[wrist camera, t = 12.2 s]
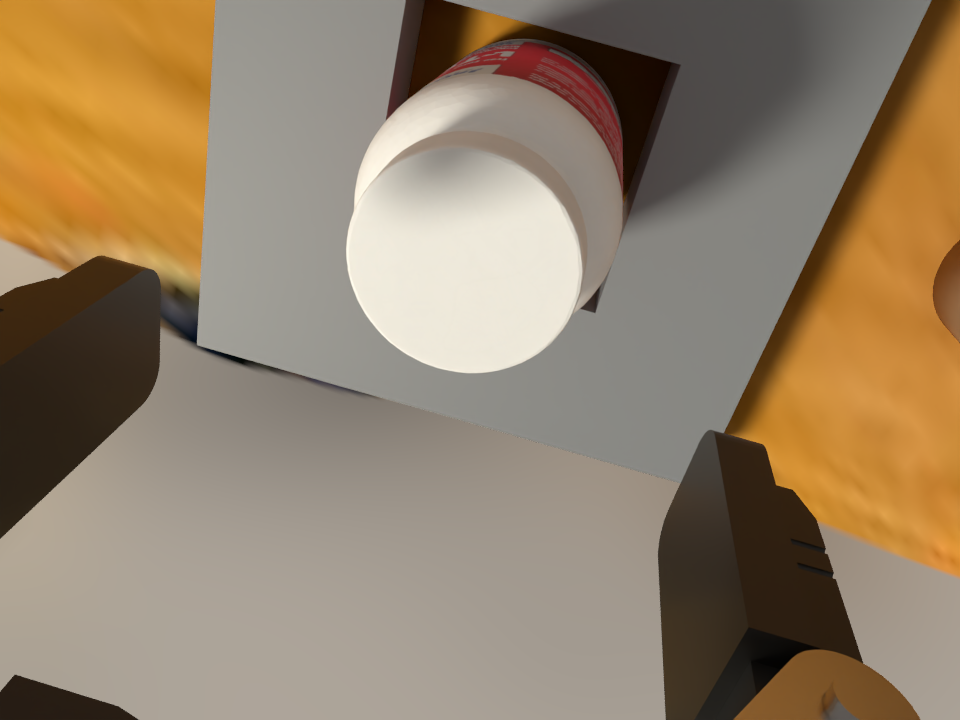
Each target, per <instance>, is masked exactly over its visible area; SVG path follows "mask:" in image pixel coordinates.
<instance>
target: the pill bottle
mask: <svg viewBox="0 0 960 720" xmlns="http://www.w3.org/2000/svg"><path fill="white" fill-rule="evenodd" d="M622 223H623V136H622V128H621V122H620V118H619V114H618V110H617V107H616V105H615V102H614V99H613V97H612V95H611V93H610V91H609V89H608V87H607V86H606V84H605V83H604V81H603V80H602V79H601V77H600V76H599V75H598V73H597V72H596V71H595V70H594V69H593V68H592V67H591V66H590V65H589V64H588V63H587V62H585V61H584V60H583V59H582V58H580V57H579V56H577V55H576V54H574V53H573V52H571V51H569V50H567V49H565V48H563V47H561V46H558V45H556V44H553V43H550V42H546V41H542V40H536V39H511V40H504V41H500V42H496V43H493V44H490V45H487V46H485V47H482V48H480V49H478V50H476V51H474V52H472V53H470V54H469V55H467V56H466V57H464V58H463V59H461V60H460V61H459V62H457V63H456V64H455V65H453V66H452V67H450V68H449V69H448V70H446V71H445V72H444V73H442V74H441V75H440V76H438V77H437V78H436V79H434V80H433V81H432V82H430V83H429V84H427V85H426V86H425V87H423V88H422V89H421V90H420V91H418V92H417V93H416V94H414V95H413V96H412V97H410V98H409V99H408V100H407V101H406V102H404V103H403V104H402V105H401V106H400V107H398V108H397V109H396V110H395V112H394V113H393V114H392V115H391V116H390V117H389V118H388V119H387V120H386V121H385V123H384V124H383V125H382V126H381V128H380V129H379V131H378V132H377V134H376V135H375V136H374V138H373V140H372V142H371V143H370V145H369V147H368V149H367V151H366V154H365V156H364V158H363V161H362V163H361V166H360V169H359V173H358V177H357V182H356V188H355V197H354V212H353V215H352V218H351V221H350V225H349V229H348V235H347V245H346V259H347V265H348V273H349V277H350V281H351V285H352V287H353V290H354V293H355V295H356V298H357V300H358V302H359V304H360V305H361V307H362V309H363V311H364V313H365V314H366V316H367V317H368V319H369V320H370V321H371V323H372V324H373V325H374V326H375V328H376V329H377V330H378V331H379V332H380V333H381V334H382V335H383V336H384V337H385V338H386V339H387V340H388V341H389V342H390V343H391V344H393V345H394V346H395V347H397V348H398V349H399V350H401V351H402V352H404V353H405V354H407V355H409V356H411V357H413V358H414V359H416V360H418V361H420V362H422V363H425V364H427V365H430V366H433V367H436V368H439V369H443V370H448V371H454V372H461V373H486V372H493V371H499V370H502V369H506V368H509V367H512V366H515V365H518V364H520V363H523V362H524V361H526V360H528V359H530V358H532V357H534V356H535V355H537V354H538V353H540V352H541V351H542V350H544V349H545V348H546V347H547V346H549V345H550V344H551V343H552V342H553V341H554V340H555V339H556V338H557V336H558V335H559V334H560V333H561V332H562V331H563V329H564V328H565V326H566V325H567V323H568V322H569V320H570V318H571V316H572V315H573V314H574V313H575V312H577V311H578V310H579V309H580V308H581V307H582V306H584V305H585V304H586V302H587V301H588V300H589V299H590V298H591V297H592V296H593V294H594V293H595V292H596V290H597V289H598V288H599V286H600V285H601V284H602V282H603V281H604V279H605V277H606V275H607V273H608V271H609V269H610V267H611V265H612V263H613V260H614V257H615V254H616V251H617V248H618V244H619V240H620V234H621V230H622Z"/></svg>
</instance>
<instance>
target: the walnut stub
mask: <svg viewBox="0 0 960 720" xmlns="http://www.w3.org/2000/svg"><path fill="white" fill-rule="evenodd" d="M933 301H934V306H935V310H936V313H937V314H938V316H939V318H940V320H941V321H942V323H943V324H944V325H945V327H946V328H947V329H948V330H949V331H950V332H951V333H952V335H953V336H954V337H955V338H956V339H957V340H958V341H959V343H960V240H959V241H958V242H957V243H956V244H955V245H954V246H953V247H952V249H951V250H950V251H949V252H948V253H947V255H946V256H945V258H944V260H943V261H942V263H941V265H940V267H939V269H938V271H937V274H936V277H935V280H934V286H933Z"/></svg>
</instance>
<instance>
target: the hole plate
mask: <svg viewBox="0 0 960 720" xmlns="http://www.w3.org/2000/svg"><path fill="white" fill-rule="evenodd" d="M445 1H449V2H452V3H456V4H460V5H463V6H467V7H471V8H474V9H478V10H482V11H485V12H489V13H493V14H496V15H500V16H504V17H507V18H511V19H515V20H518V21H522V22H526V23H529V24H533V25H537V26H540V27H544V28H548V29H551V30H555V31H559V32H562V33H566V34H570V35H573V36H577V37H581V38H584V39H588V40H592V41H595V42H599V43H603V44H606V45H610V46H614V47H617V48H621V49H625V50H628V51H632V52H636V53H639V54H643V55H647V56H650V57H654V58H658V59H661V60H665V61H669V62H672V63H671V66H670V69H669V72H668V75H667V78H666V81H665V83H664V86H663V89H662V92H661V95H660V98H659V101H658V104H657V107H656V110H655V113H654V116H653V119H652V122H651V125H650V128H649V131H648V134H647V137H646V140H645V143H644V146H643V149H642V151H641V154H640V157H639V160H638V163H637V166H636V169H635V172H634V175H633V178H632V181H631V184H630V187H629V190H628V193H627V196H626V199H625V202H624V205H623V223H622V230H621V234H620V240H619V244H618V248H617V251H616V254H615V257H614V260H613V263H612V265H611V267H610V269H609V271H608V273H607V275H606V277H605V279H604V281H603V282H602V284H601V285H600V286H599V288H598V289H597V290H596V292H595V293H594V294H593V296H592V297H591V298H590V299H589V300H588V301H587V302H586V304H585V305H584V306H582V307H581V308H580V309H579V310H578V311H577V312H575V313H574V314H573V315H572V316H571V318H570V320H569V322H568V323H567V325H566V326H565V328H564V329H563V331H562V332H561V333H560V334H559V335H558V336H557V338H556V339H555V340H554V341H553V342H552V343H551V344H550V345H549V346H547V347H546V348H545V349H544V350H542V351H541V352H540V353H538V354H537V355H535V356H534V357H532V358H530V359H528V360H526V361H524V362H523V363H520V364H518V365H515V366H512V367H509V368H506V369H502V370H499V371H493V372H486V373H461V372H454V371H448V370H443V369H439V368H436V367H433V366H430V365H427V364H425V363H422V362H420V361H418V360H416V359H414V358H413V357H411V356H409V355H407V354H405V353H404V352H402V351H401V350H399V349H398V348H397V347H395V346H394V345H393V344H391V343H390V342H389V341H388V340H387V339H386V338H385V337H384V336H383V335H382V334H381V333H380V332H379V331H378V330H377V329H376V328H375V326H374V325H373V324H372V323H371V321H370V320H369V319H368V317H367V316H366V314H365V313H364V311H363V309H362V307H361V305H360V304H359V302H358V300H357V298H356V295H355V293H354V290H353V287H352V285H351V281H350V277H349V273H348V265H347V259H346V245H347V235H348V229H349V225H350V221H351V218H352V215H353V212H354V197H355V188H356V182H357V177H358V173H359V169H360V166H361V163H362V161H363V158H364V156H365V154H366V151H367V149H368V147H369V145H370V143H371V142H372V140H373V138H374V136H375V135H376V134H377V132H378V131H379V129H380V128H381V126H382V125H383V124H384V123H385V121H386V120H387V119H388V118H389V117H390V116H391V115H392V114H393V113H394V112H395V110H396V109H397V108H398V107H400V106H401V105H402V104H403V103H404V102H406V101H407V99H408V93H409V88H410V82H411V76H412V71H413V65H414V60H415V54H416V48H417V43H418V37H419V32H420V26H421V21H422V15H423V9H424V4H425V0H216V4H215V23H214V41H213V59H212V78H211V96H210V114H209V133H208V151H207V170H206V188H205V206H204V225H203V243H202V261H201V280H200V298H199V317H198V335H197V345H199V346H202V347H206V348H209V349H213V350H216V351H220V352H223V353H227V354H230V355H234V356H237V357H241V358H244V359H248V360H251V361H255V362H258V363H262V364H265V365H269V366H272V367H276V368H279V369H283V370H286V371H290V372H293V373H296V374H300V375H303V376H307V377H310V378H314V379H317V380H321V381H324V382H328V383H331V384H335V385H338V386H342V387H345V388H349V389H352V390H356V391H359V392H363V393H366V394H370V395H373V396H377V397H380V398H384V399H387V400H391V401H394V402H398V403H401V404H405V405H409V406H412V407H415V408H419V409H422V410H426V411H429V412H433V413H436V414H440V415H443V416H447V417H451V418H454V419H457V420H461V421H464V422H468V423H471V424H475V425H478V426H482V427H485V428H489V429H493V430H496V431H499V432H503V433H506V434H510V435H513V436H517V437H520V438H524V439H528V440H531V441H534V442H538V443H541V444H545V445H548V446H552V447H555V448H559V449H562V450H566V451H569V452H573V453H576V454H579V455H583V456H587V457H590V458H594V459H597V460H600V461H604V462H608V463H611V464H615V465H618V466H621V467H625V468H629V469H632V470H635V471H639V472H642V473H646V474H649V475H653V476H656V477H660V478H664V479H667V480H671V481H674V482H678V483H681V481H682V479H683V477H684V475H685V473H686V470H687V468H688V466H689V464H690V462H691V459H692V457H693V455H694V453H695V451H696V448H697V446H698V444H699V442H700V440H701V438H702V437H703V435H704V434H705V433H706V432H707V431H708V430H714V431H717V432H721V433H724V432H725V429H726V427H727V425H728V423H729V421H730V419H731V417H732V415H733V413H734V411H735V409H736V407H737V404H738V402H739V400H740V398H741V396H742V394H743V392H744V390H745V388H746V386H747V384H748V382H749V379H750V377H751V375H752V373H753V371H754V369H755V367H756V365H757V363H758V361H759V359H760V357H761V355H762V352H763V350H764V348H765V346H766V344H767V342H768V340H769V338H770V336H771V334H772V332H773V330H774V327H775V325H776V323H777V321H778V319H779V317H780V315H781V313H782V311H783V309H784V307H785V305H786V302H787V300H788V298H789V296H790V294H791V292H792V290H793V288H794V286H795V284H796V282H797V280H798V277H799V275H800V273H801V271H802V269H803V267H804V265H805V263H806V261H807V259H808V257H809V255H810V252H811V250H812V248H813V246H814V244H815V242H816V240H817V238H818V236H819V234H820V232H821V230H822V227H823V225H824V223H825V221H826V219H827V217H828V215H829V213H830V211H831V209H832V207H833V205H834V203H835V200H836V198H837V196H838V194H839V192H840V190H841V188H842V186H843V184H844V182H845V180H846V178H847V175H848V173H849V171H850V169H851V167H852V165H853V163H854V161H855V159H856V157H857V155H858V153H859V150H860V148H861V146H862V144H863V142H864V140H865V138H866V136H867V134H868V132H869V130H870V128H871V125H872V123H873V121H874V119H875V117H876V115H877V113H878V111H879V109H880V107H881V105H882V103H883V100H884V98H885V96H886V94H887V92H888V90H889V88H890V86H891V84H892V82H893V80H894V78H895V75H896V73H897V71H898V69H899V67H900V65H901V63H902V61H903V59H904V57H905V55H906V53H907V51H908V48H909V46H910V44H911V42H912V40H913V38H914V36H915V34H916V32H917V30H918V28H919V26H920V23H921V21H922V19H923V17H924V15H925V13H926V11H927V9H928V7H929V5H930V3H931V1H932V0H445Z"/></svg>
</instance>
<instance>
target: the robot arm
mask: <svg viewBox="0 0 960 720" xmlns="http://www.w3.org/2000/svg"><path fill="white" fill-rule="evenodd" d="M160 301H161V286H160V280H159V277H158V275H157V273H156V272H155V271H154V270H152V269H148V268H145V267H141V266H138V265H134V264H131V263H127V262H124V261H120V260H117V259H113V258H109V257H106V256H97V257H95V258H93V259H91V260H89V261H87V262H86V263H84V264H82V265H81V266H79V267H77V268H75V269H74V270H72V271H70V272H69V273H67V274H65V275H63V276H62V277H60V278H52V279H48V280H44V281H40V282H36V283H32V284H28V285H25V286H21V287H17V288H14V289H13V290H11V291H9V292H7V293H5V294H4V295H2V296H0V538H1V537H2V536H4V535H5V534H6V533H7V532H8V531H9V530H10V529H11V528H12V527H13V526H14V525H15V524H16V523H17V522H18V521H19V520H21V519H22V518H23V516H25V515H26V514H27V513H28V512H29V511H30V510H31V509H32V508H33V507H34V506H35V505H36V504H37V503H38V502H40V501H41V500H42V499H43V498H44V497H45V496H46V495H47V494H48V493H49V492H50V491H51V490H52V489H53V488H54V487H56V486H57V484H59V483H60V482H61V481H62V480H63V479H64V478H65V477H66V476H67V475H68V474H69V473H70V472H71V471H73V470H74V469H75V468H76V467H77V466H78V465H79V464H80V463H81V462H82V461H83V460H84V459H85V458H86V457H87V456H88V455H90V454H91V453H92V452H93V451H94V450H95V449H96V448H97V447H98V446H99V445H100V444H101V443H102V442H103V441H104V440H105V439H106V438H108V437H109V436H110V435H111V434H112V433H113V432H114V431H115V430H116V429H117V428H118V427H119V426H120V425H121V424H122V423H123V422H125V421H126V420H127V419H128V418H129V417H130V416H131V415H132V414H133V413H134V412H135V411H136V410H137V409H138V408H139V407H140V406H141V405H142V404H143V403H144V402H145V401H146V400H147V398H148V397H149V395H150V393H151V391H152V389H153V387H154V385H155V382H156V379H157V375H158V371H159V363H160ZM825 549H826V548H825V545H824V542H823V539H822V536H821V533H820V529H819V526H818V523H817V520H816V519H815V517H814V516H813V515H812V513H811V512H810V511H809V510H808V508H807V507H806V506H805V505H804V503H803V502H802V501H801V500H800V498H799V497H798V496H797V495H796V493H795V492H794V491H793V490H791V489H787V488H784V487H780V486H777V485H776V484H775V480H774V476H773V473H772V469H771V465H770V462H769V458H768V454H767V451H766V448H765V446H764V445H762V444H760V443H756V442H753V441H749V440H746V439H742V438H738V437H735V436H731V435H728V434H724V433H721V432H717V431H714V430H708V431H707V432H706V433H705V434H704V435H703V437H702V438H701V440H700V442H699V444H698V446H697V448H696V451H695V453H694V455H693V457H692V459H691V462H690V464H689V466H688V468H687V470H686V473H685V475H684V477H683V479H682V481H681V484H680V486H679V488H678V490H677V492H676V494H675V497H674V499H673V501H672V503H671V505H670V508H669V510H668V512H667V515H666V518H665V520H664V524H663V527H662V531H661V535H660V541H659V549H658V564H659V585H660V607H661V628H662V647H663V648H662V649H663V670H664V691H665V712H666V720H920V718H919V716H918V715H917V713H916V712H915V710H914V709H913V707H912V706H911V704H910V703H909V702H908V701H907V699H906V698H905V697H904V696H903V695H902V694H901V693H900V692H899V691H898V690H897V689H896V688H895V687H894V686H893V685H892V684H891V683H890V682H889V681H887V680H886V679H885V678H884V677H883V676H882V675H880V674H879V673H877V672H876V671H874V670H873V669H871V668H870V667H868V666H866V665H865V664H863V661H862V658H861V655H860V652H859V649H858V646H857V643H856V640H855V637H854V634H853V631H852V628H851V624H850V621H849V618H848V615H847V612H846V609H845V606H844V603H843V600H842V597H841V594H840V591H839V588H838V585H837V582H836V579H833V578H832V577H833V573H834V572H833V570H832V566H831V563H830V560H829V557H828V555H827V554H825ZM0 720H138V719H137V718H135V717H134V716H132V715H131V714H129V713H128V712H126V711H125V710H123V709H121V708H120V707H118V706H115V705H112V704H109V703H105V702H102V701H99V700H96V699H92V698H89V697H85V696H82V695H79V694H76V693H73V692H70V691H66V690H63V689H59V688H57V687H53V686H50V685H47V684H44V683H40V682H37V681H34V680H30V679H27V678H24V677H21V676H17V675H14V676H13V677H12V679H11V680H10V681H9V682H8V683H7V685H6V686H5V687H4V688H3V689H2V690H1V692H0Z"/></svg>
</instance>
